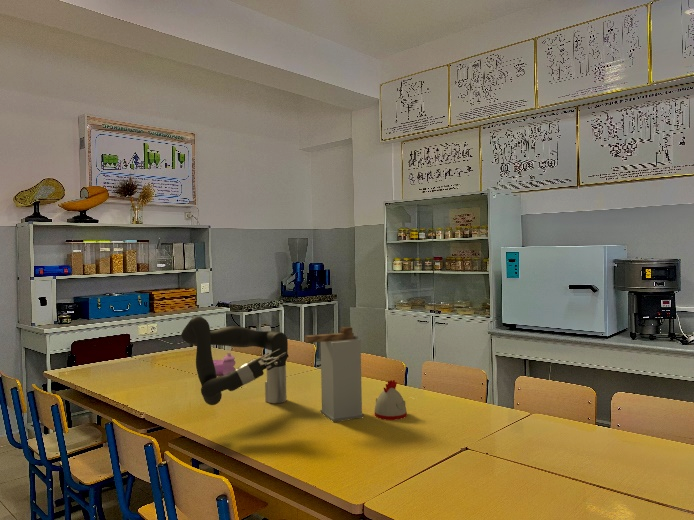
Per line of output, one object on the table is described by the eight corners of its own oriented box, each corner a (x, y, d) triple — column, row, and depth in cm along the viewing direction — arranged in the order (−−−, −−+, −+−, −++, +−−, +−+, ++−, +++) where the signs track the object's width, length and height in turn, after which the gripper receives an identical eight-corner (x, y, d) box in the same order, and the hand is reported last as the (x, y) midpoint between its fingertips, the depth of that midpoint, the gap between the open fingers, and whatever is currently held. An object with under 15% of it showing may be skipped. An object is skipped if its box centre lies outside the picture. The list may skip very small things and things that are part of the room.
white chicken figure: (413, 414, 234) (412, 380, 233) (393, 422, 224) (392, 386, 223) (387, 408, 243) (387, 375, 243) (367, 415, 233) (367, 381, 233)
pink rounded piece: (197, 373, 322) (197, 351, 322) (218, 368, 334) (218, 347, 334) (222, 379, 306) (221, 356, 306) (243, 374, 317) (243, 352, 317)
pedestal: (333, 422, 225) (331, 340, 224) (320, 412, 238) (319, 335, 238) (363, 417, 230) (362, 337, 230) (349, 408, 244) (348, 333, 243)
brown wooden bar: (307, 342, 226) (307, 331, 226) (304, 341, 229) (304, 330, 229) (353, 338, 234) (353, 327, 234) (350, 337, 238) (349, 326, 238)
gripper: (248, 376, 224) (282, 357, 230) (257, 383, 211) (293, 363, 217) (241, 360, 222) (275, 341, 228) (249, 367, 209) (286, 347, 216)
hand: (284, 352), depth 223 cm, fingers open, 8 cm apart
